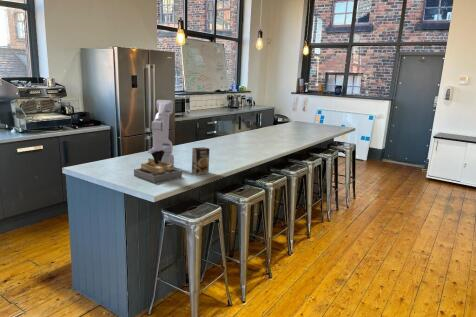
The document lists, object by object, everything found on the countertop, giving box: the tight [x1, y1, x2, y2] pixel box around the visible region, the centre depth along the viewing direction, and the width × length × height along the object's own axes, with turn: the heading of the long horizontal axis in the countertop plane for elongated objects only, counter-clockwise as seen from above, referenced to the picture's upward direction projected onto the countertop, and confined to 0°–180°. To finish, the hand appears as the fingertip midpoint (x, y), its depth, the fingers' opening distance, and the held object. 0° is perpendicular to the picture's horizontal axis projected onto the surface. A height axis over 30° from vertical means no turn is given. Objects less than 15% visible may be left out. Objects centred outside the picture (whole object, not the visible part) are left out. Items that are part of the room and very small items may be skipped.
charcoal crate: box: [133, 167, 183, 184], centre depth 216 cm, size 20×20×4 cm
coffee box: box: [191, 146, 210, 176], centre depth 227 cm, size 9×6×16 cm
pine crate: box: [140, 157, 173, 175], centre depth 216 cm, size 13×13×6 cm
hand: (157, 163), depth 215 cm, fingers closed on pine crate
